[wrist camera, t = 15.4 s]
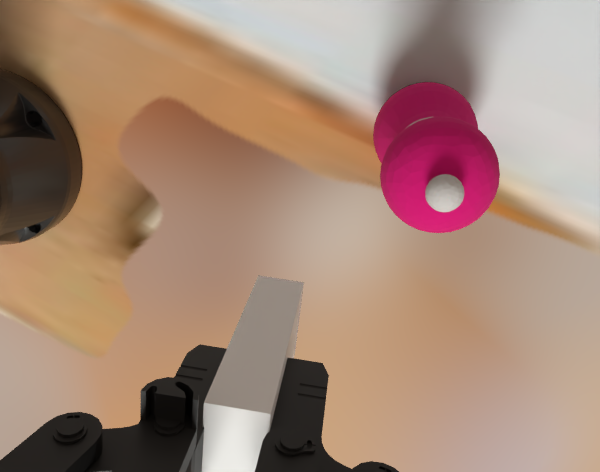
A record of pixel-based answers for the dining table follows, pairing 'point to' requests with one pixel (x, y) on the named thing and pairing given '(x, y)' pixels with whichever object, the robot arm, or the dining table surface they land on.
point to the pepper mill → (434, 158)
